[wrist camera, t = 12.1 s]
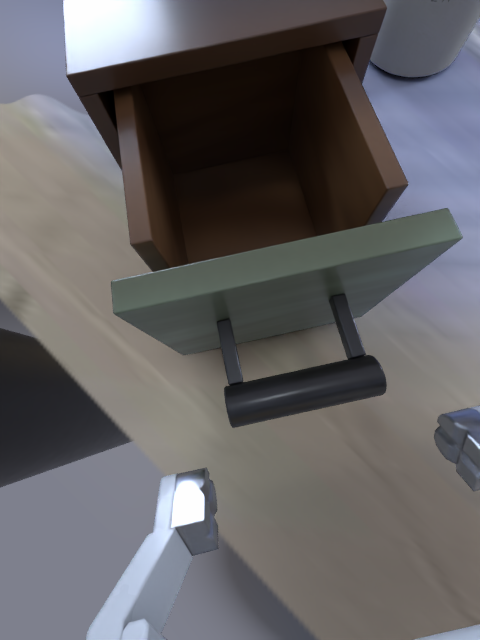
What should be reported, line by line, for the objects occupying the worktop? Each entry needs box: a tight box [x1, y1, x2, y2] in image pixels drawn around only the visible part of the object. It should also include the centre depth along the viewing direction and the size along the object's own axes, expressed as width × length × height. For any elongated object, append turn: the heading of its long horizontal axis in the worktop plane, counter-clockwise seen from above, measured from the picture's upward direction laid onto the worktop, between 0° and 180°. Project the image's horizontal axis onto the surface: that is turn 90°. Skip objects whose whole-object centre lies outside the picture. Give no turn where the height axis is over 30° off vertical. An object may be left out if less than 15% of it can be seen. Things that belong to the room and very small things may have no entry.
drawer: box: [111, 41, 463, 428], centre depth 14 cm, size 18×11×9 cm, turn 12°
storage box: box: [63, 0, 387, 170], centre depth 18 cm, size 15×13×11 cm
